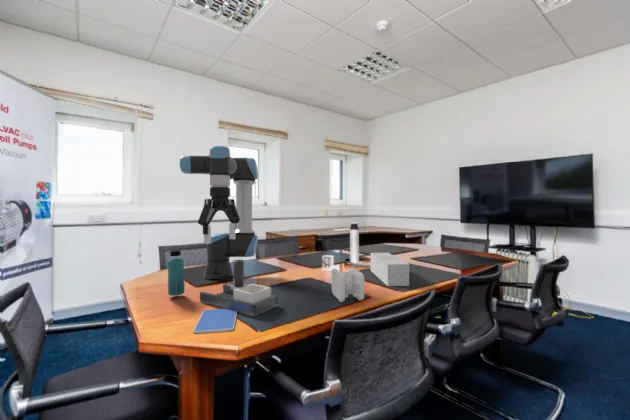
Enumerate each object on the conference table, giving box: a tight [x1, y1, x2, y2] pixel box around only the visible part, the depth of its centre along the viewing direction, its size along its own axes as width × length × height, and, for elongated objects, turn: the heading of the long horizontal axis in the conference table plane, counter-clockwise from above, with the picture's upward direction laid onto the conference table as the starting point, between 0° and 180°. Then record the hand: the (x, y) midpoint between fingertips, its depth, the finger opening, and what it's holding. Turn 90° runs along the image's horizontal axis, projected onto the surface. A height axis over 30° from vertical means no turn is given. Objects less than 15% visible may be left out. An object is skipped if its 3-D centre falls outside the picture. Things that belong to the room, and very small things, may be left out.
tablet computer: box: [192, 308, 238, 334], centre depth 105 cm, size 19×13×1 cm, turn 11°
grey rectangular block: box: [370, 252, 410, 287], centre depth 163 cm, size 32×11×11 cm, turn 4°
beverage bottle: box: [167, 249, 186, 297], centre depth 130 cm, size 6×7×20 cm
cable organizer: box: [331, 267, 365, 303], centre depth 129 cm, size 15×11×12 cm
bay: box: [199, 284, 279, 318], centre depth 121 cm, size 13×30×4 cm, turn 57°
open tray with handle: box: [229, 259, 272, 304], centre depth 118 cm, size 10×14×16 cm
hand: (220, 241), depth 119 cm, fingers open, 13 cm apart
